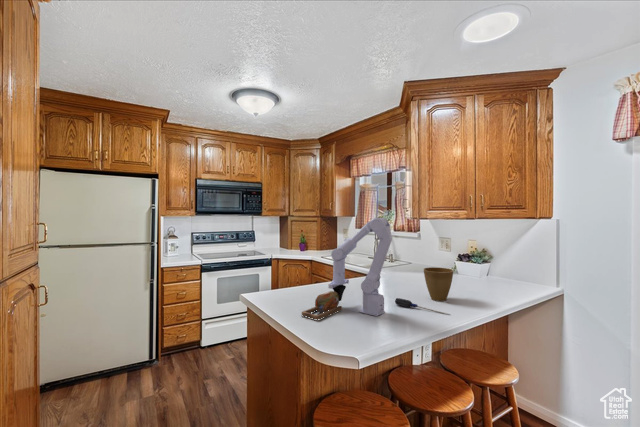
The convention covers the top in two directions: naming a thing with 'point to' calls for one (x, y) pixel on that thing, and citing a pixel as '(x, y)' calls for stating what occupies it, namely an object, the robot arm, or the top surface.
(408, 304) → the screwdriver
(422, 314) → the top surface
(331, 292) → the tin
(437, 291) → the plant pot
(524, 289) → the top surface
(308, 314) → the brown beaded frame
